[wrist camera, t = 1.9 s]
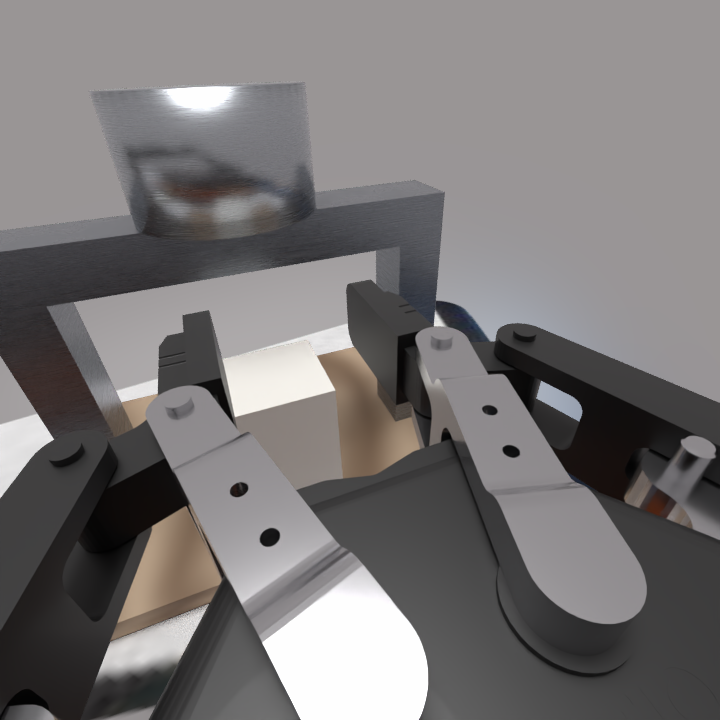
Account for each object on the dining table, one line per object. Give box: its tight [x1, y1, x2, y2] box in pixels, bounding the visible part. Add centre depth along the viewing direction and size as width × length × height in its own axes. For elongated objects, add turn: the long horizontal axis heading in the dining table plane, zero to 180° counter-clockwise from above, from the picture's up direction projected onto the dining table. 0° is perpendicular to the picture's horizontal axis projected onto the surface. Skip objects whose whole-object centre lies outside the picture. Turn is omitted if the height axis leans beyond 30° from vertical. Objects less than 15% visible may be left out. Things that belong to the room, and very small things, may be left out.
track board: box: [110, 347, 420, 641], centre depth 35 cm, size 27×21×2 cm
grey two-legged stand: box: [0, 82, 445, 440], centre depth 27 cm, size 26×10×24 cm, turn 111°
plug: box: [222, 340, 343, 490], centre depth 25 cm, size 5×6×12 cm
